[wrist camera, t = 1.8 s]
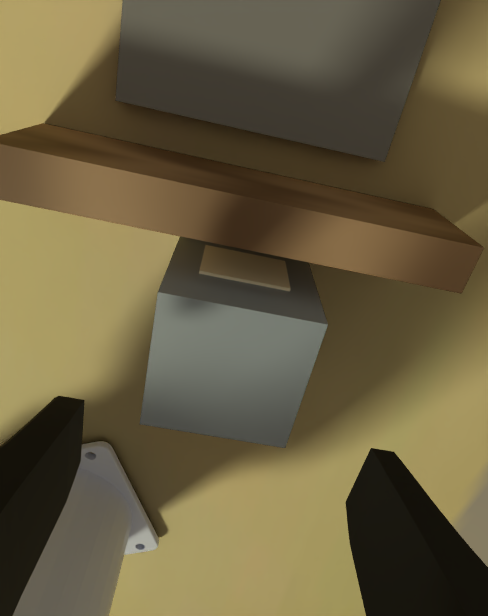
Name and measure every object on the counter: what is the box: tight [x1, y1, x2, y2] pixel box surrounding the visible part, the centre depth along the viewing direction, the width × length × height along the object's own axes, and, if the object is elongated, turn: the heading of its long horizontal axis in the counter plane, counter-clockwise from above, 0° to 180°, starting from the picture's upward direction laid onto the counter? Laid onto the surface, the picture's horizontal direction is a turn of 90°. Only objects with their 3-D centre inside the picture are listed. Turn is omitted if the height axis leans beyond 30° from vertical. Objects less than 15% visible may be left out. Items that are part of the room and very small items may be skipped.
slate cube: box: [140, 236, 328, 448], centre depth 16 cm, size 5×5×5 cm
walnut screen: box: [0, 123, 484, 293], centre depth 15 cm, size 14×2×4 cm, turn 78°
